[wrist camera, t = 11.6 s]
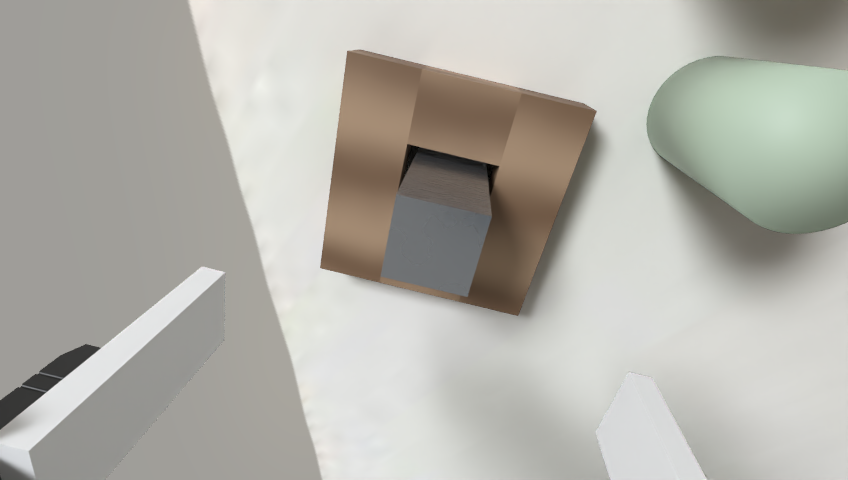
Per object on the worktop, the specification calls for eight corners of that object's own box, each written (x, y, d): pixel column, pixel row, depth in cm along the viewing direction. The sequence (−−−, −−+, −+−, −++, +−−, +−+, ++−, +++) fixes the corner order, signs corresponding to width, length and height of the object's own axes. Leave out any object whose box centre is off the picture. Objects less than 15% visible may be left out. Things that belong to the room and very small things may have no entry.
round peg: (721, 179, 27) (838, 253, 18) (626, 147, 27) (698, 205, 18) (790, 77, 24) (968, 104, 15) (684, 40, 24) (802, 47, 15)
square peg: (469, 219, 30) (467, 297, 21) (408, 205, 30) (380, 276, 21) (485, 159, 28) (491, 216, 19) (420, 144, 28) (396, 194, 19)
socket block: (514, 292, 32) (518, 315, 30) (333, 248, 32) (320, 268, 30) (583, 103, 26) (596, 111, 23) (360, 49, 26) (347, 51, 23)
